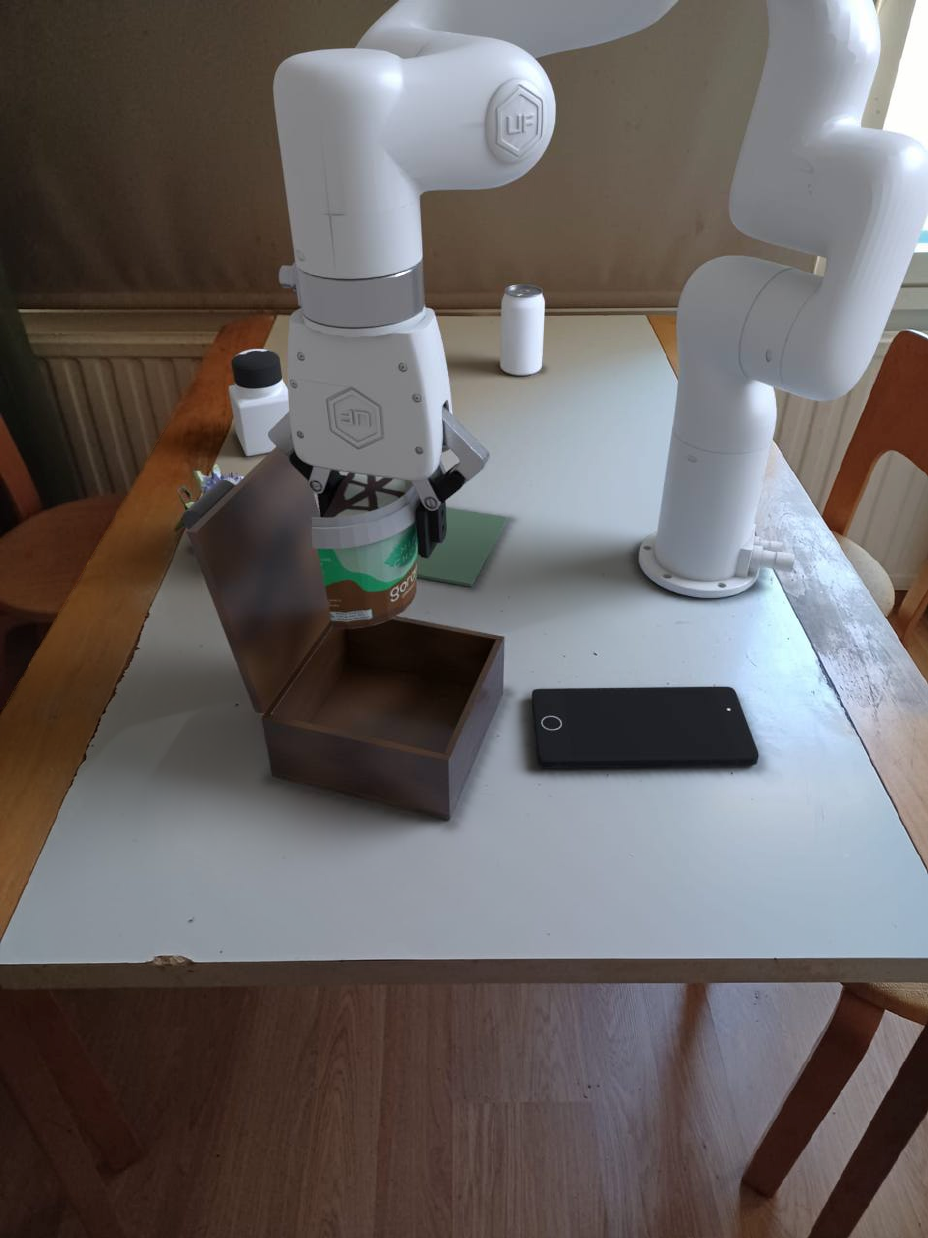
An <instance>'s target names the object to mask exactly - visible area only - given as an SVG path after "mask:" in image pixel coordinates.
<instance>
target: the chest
mask: <svg viewBox="0 0 928 1238" xmlns="http://www.w3.org/2000/svg"><path fill="white" fill-rule="evenodd" d="M505 641H506V637H505V636H503V635H498V634H494V633H493V634H492V633H488V632H482V631H477V630H472V629H466V628H462V627H456V626H451V625H446V624H441V623H436V622H432V621H427V620H426V621H425V620H419V619H414V618H409V617H404V616H399V615H397V616H395V617H394V618H392V619H390V620H389V621H386V622H382V623H379V624H376V625H373V626H370V627H362V628H354V629H338V628H333V626H332V621H331V620H330V622H329V623H328V624H327V626H326V627H325V629H324V630H323V631H322V633H321V634H320V636H319V637H318V639H317V640H316V641H315V643H314V644H313V646H312V647H311V648H310V650H309V651H308V653H307V654H306V655H305V657H304V658H303V660H302V661H301V662H300V664H299V665H298V667H297V668H296V669H295V671H294V672H293V674H292V675H291V676H290V678H289V679H288V681H287V682H286V684H285V685H284V686H283V688H282V689H281V691H280V692H279V693H278V695H277V696H276V698H275V699H274V700H273V702H272V703H271V705H270V706H269V707H268V709H267V710H266V712H265V713H264V714H262V715H261V717H260V721H261V727H262V731H263V738H264V742H265V746H266V752H267V757H268V760H269V761H268V763H269V768H270V772H271V776H272V777H273V778H275V779H279V780H284V781H288V782H292V783H295V784H300V785H305V786H309V787H311V788H312V787H313V788H316V789H320V790H324V791H328V792H332V793H337V794H341V795H344V796H349V797H353V798H357V799H359V800H360V799H361V800H365V801H369V802H373V803H377V804H381V805H385V806H388V807H389V806H390V807H392V808H393V807H394V808H397V809H401V810H405V811H410V812H414V813H417V814H422V815H426V816H430V817H433V818H437V819H442V820H445V821H451V819H452V817H453V814H454V812H455V809H456V807H457V805H458V802H459V800H460V797H461V795H462V793H463V790H464V788H465V785H466V783H467V781H468V778H469V776H470V774H471V771H472V769H473V767H474V764H475V762H476V760H477V757H478V755H479V752H480V750H481V747H482V745H483V742H484V741H485V738H486V735H487V733H488V731H489V728H490V726H491V723H492V721H493V719H494V716H495V714H496V712H497V710H498V707H499V705H500V702H501V700H502V699H503V698H502V697H503V695H504V679H505V678H504V677H505V676H504V675H505V674H504V673H505Z"/></svg>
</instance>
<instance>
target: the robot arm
mask: <svg viewBox="0 0 928 1238" xmlns="http://www.w3.org/2000/svg"><path fill="white" fill-rule="evenodd" d="M679 1H680V0H398V1H396V3H394V4H393V5H392V6H391V7H390V8H389V9H387V11H385V12H384V13H383V14H382V15H381V16H380V17H379V18H378V19H376V21H374V23H373V24H372V25H371V26H370V27H369V28H368V29H367V30H366V32H365V33H364V34H363V35H362V37H361V38H360V40H359V41H358V43H357V44H356V45H355V47H354V48H353V47H351V48H350V47H349V48H329V49H317V50H312V51H307V52H300V53H297V54H293V55H292V56H289V57H288V58H286V59H284V60H283V61H282V62H281V63H280V64H279V65H278V67H277V69H276V71H275V73H274V78H273V85H272V92H273V93H272V94H273V102H274V103H273V105H274V114H275V121H276V128H277V135H278V142H279V143H278V144H279V151H280V158H281V166H282V172H283V180H284V188H285V195H286V203H287V204H286V205H287V211H288V218H289V224H290V225H289V226H290V233H291V240H292V247H293V254H294V255H293V256H294V262H293V263H292V265H281V266H280V268H279V272H278V282H279V285H280V287H281V288H283V289H291V290H292V291H293V292H296V295H297V296H296V297H297V304H298V307H300V308H298V309H296V310H295V311H293V312H292V313H291V314H290V315H289V322H288V323H289V325H288V333H287V334H288V337H287V362H286V363H287V365H286V368H287V369H286V371H287V372H286V376H287V378H286V379H287V388H288V399H289V412H288V413H287V414H286V415H285V416H284V417H283V418H282V419H281V420H280V421H279V422H278V423H277V424H276V425H275V426H274V427H273V428H272V429H271V430H270V431H269V432H268V437H269V439H270V440H271V441H272V442H273V443H274V444H275V445H276V446H277V447H278V448H279V449H280V450H281V451H282V452H283V453H284V454H285V455H287V456H288V457H289V461H290V463H291V464H292V465H293V466H294V467H295V468H296V469H297V470H298V471H299V472H300V473H301V474H302V475H303V476H304V477H305V478H306V479H307V480H308V481H309V482H308V486H309V488H310V490H311V491H312V492H314V494H316V496H317V503H318V504H317V505H318V510H319V513H320V518H323V516H324V515H325V513H326V511H327V510H328V508H329V506H330V504H331V502H332V500H333V498H334V496H335V494H336V492H337V489H338V487H339V485H340V483H341V481H342V480H343V479H344V478H345V476H346V475H347V474H346V475H345V474H341V472H343V473H356V474H363V475H370V476H377V477H385V478H392V479H400V480H411V482H412V484H413V486H414V488H415V490H416V492H417V494H418V496H419V498H420V500H421V503H420V505H419V506H418V508H417V510H416V528H417V544H418V555H420V556H421V557H422V558H429V557H430V555H431V554H432V552H433V550H434V549H435V547H436V545H437V544H438V543H442V542H443V540H444V539H445V536H446V532H447V521H446V508H447V502H446V501H447V500H448V499H450V498H451V497H452V496H454V495H455V494H456V493H458V491H460V490H461V489H462V488H463V486H464V485H465V484H467V483H468V482H469V481H471V480H472V479H473V478H474V477H476V476H477V475H478V474H479V473H480V472H481V471H482V470H483V469H484V468H485V467H486V465H487V463H488V462H489V460H490V457H491V455H490V452H489V451H488V450H487V448H486V447H484V445H482V443H481V442H480V441H479V440H478V439H477V438H476V437H474V435H473V434H472V433H471V432H470V431H468V429H467V428H466V427H464V425H463V423H461V422H460V421H459V420H458V419H457V417H455V416H454V415H453V405H452V394H451V385H450V379H449V372H448V365H447V360H446V354H445V349H444V344H443V340H442V335H441V331H440V328H439V327H440V326H439V324H438V319H437V317H436V312H435V310H434V309H432V308H430V307H426V301H425V299H426V298H425V281H424V258H423V256H424V255H423V233H422V215H421V214H422V213H421V196H422V194H424V193H426V192H432V191H464V190H465V191H467V190H469V191H470V190H472V191H473V190H474V191H475V190H479V191H480V190H488V189H495V188H499V187H502V186H506V185H508V184H510V183H513V182H514V181H516V180H519V179H520V178H521V177H523V176H524V175H526V174H527V173H528V172H529V171H530V170H531V169H532V168H534V167H535V165H536V164H537V163H538V162H539V161H540V160H541V158H542V157H543V155H544V153H545V152H546V150H547V148H548V146H549V145H550V142H551V139H552V136H553V134H554V129H555V126H556V113H557V112H556V110H557V109H556V108H557V107H556V106H557V105H556V99H555V92H554V89H553V85H552V83H551V81H550V78H549V76H548V74H547V73H546V71H545V69H544V68H543V67H542V65H541V64H540V63H539V61H538V60H537V59H539V58H542V57H544V56H549V55H554V54H557V53H562V52H568V51H573V50H577V49H584V48H589V47H593V46H597V45H602V44H604V43H609V42H611V41H615V40H618V39H621V38H624V37H626V36H630V35H633V34H636V33H638V32H640V31H642V30H643V31H644V30H645V29H647V28H649V27H650V26H652V25H654V24H655V23H657V22H658V21H660V19H662V18H663V17H664V16H665V15H666V14H667V13H668V12H669V11H670V10H671V8H673V7H675V5H676V4H677V3H678V2H679ZM765 4H766V11H767V17H768V18H767V19H768V42H767V52H766V56H765V61H764V65H763V69H762V73H761V77H760V80H759V85H758V87H757V92H756V95H755V99H754V102H753V105H752V109H751V112H750V116H749V119H748V123H747V126H746V130H745V132H744V137H743V139H742V143H741V147H740V151H739V154H738V158H737V161H736V165H735V169H734V173H733V177H732V179H731V180H732V181H731V185H730V190H729V197H728V198H729V199H728V203H727V204H728V206H727V207H728V215H729V218H730V221H731V223H732V225H733V226H734V227H735V228H736V230H737V231H739V232H740V233H742V234H743V235H745V236H747V237H750V238H752V239H755V240H758V241H761V242H764V243H767V244H770V245H774V246H778V247H782V248H785V249H789V250H793V251H796V252H800V253H804V254H808V255H812V256H815V257H820V258H823V259H826V260H825V262H826V263H825V268H824V273H823V275H819V274H815V273H812V272H807V271H804V270H801V269H800V268H796V267H792V266H788V265H785V264H783V263H782V264H781V263H777V262H774V261H771V260H765V259H762V258H758V257H753V256H747V255H737V254H736V255H734V254H733V255H729V254H728V255H723V256H718V257H715V258H713V259H711V260H708V261H706V262H704V263H703V264H701V265H700V266H698V268H697V269H696V270H695V271H694V272H693V273H692V274H691V275H690V277H689V278H688V280H687V281H686V283H685V285H684V287H683V289H682V291H681V294H680V296H679V300H678V306H677V309H676V320H675V321H676V322H675V323H676V324H675V325H676V328H675V329H676V331H675V332H676V343H677V344H676V345H677V367H678V368H677V370H678V371H677V372H678V373H677V385H676V386H677V388H676V397H675V406H674V413H673V419H672V427H671V433H670V440H669V446H668V453H667V461H666V468H665V474H664V480H663V488H662V493H661V502H660V508H659V515H658V516H659V517H658V523H657V528H656V529H657V530H656V531H655V532H653V533H652V534H649V535H648V536H647V537H646V538H645V539H644V540H643V541H642V543H641V544H640V547H639V552H638V563H639V567H640V569H641V570H642V572H643V573H644V574H645V575H646V577H648V578H649V579H650V580H651V581H652V582H654V583H655V584H656V585H658V586H660V587H662V588H664V589H665V590H668V591H671V592H674V593H676V594H679V595H683V596H687V597H693V598H701V599H719V598H726V597H727V598H728V597H731V596H734V595H737V594H740V593H742V592H745V591H746V590H748V589H749V588H751V587H752V586H753V585H754V584H755V582H757V579H758V577H759V574H760V570H761V568H766V569H771V570H774V571H779V572H786V573H792V572H793V567H794V562H795V557H796V556H795V553H792V552H784V551H782V550H783V544H784V542H783V541H778V540H766V539H761V536H758V535H755V534H756V527H757V524H756V522H755V521H756V516H757V511H758V508H759V507H758V506H759V503H760V499H761V498H760V497H761V493H762V488H763V485H764V479H765V475H766V471H767V467H768V461H769V457H770V453H771V448H772V445H773V444H772V443H773V440H774V435H775V431H776V425H777V418H778V417H777V413H778V409H777V400H776V399H777V398H776V393H775V389H778V390H780V391H783V392H786V393H789V394H792V395H795V396H797V397H800V398H803V399H806V400H811V401H816V402H831V401H834V400H837V399H839V398H842V397H843V396H845V395H846V394H848V393H849V392H851V390H852V389H853V388H854V387H855V386H857V384H858V382H859V381H860V380H861V379H862V377H863V375H864V374H865V372H866V371H867V369H868V367H869V365H870V363H871V361H872V359H873V357H874V354H875V352H876V350H877V348H878V345H879V342H880V341H881V338H882V335H883V334H884V331H885V328H886V326H887V322H888V320H889V317H890V315H891V312H892V310H893V308H894V306H895V302H896V299H897V296H898V294H899V291H900V289H901V287H902V284H903V281H904V279H905V276H906V274H907V271H908V268H909V266H910V263H911V261H912V257H913V255H914V253H915V251H916V248H917V246H918V242H919V240H920V238H921V235H922V232H923V229H924V226H925V223H926V220H927V217H928V149H927V148H926V147H925V146H924V145H923V144H922V143H921V142H920V141H919V140H917V139H916V138H914V137H912V136H909V135H906V134H904V133H901V132H896V131H892V130H891V131H890V130H886V129H885V130H884V129H880V128H879V129H877V128H872V127H871V128H870V127H863V126H862V121H863V116H864V114H865V113H864V112H865V110H866V106H867V102H868V99H869V96H870V92H871V89H872V85H873V83H874V79H875V77H876V74H877V70H878V66H879V62H880V58H881V51H882V46H881V45H882V44H881V42H882V40H881V29H880V23H879V18H878V14H877V11H876V5H875V4H874V1H873V0H765ZM774 388H775V389H774ZM449 450H450V451H451V452H452V453H453V454H454V455H455V456H456V457H457V458H458V460H459V462H458V463H456V464H454V465H453V466H452V467H450V468H449V469H448V470H446V468H445V467H444V464H443V462H442V460H441V458H442V453H445V452H447V451H449Z"/></svg>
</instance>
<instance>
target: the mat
mask: <svg viewBox="0 0 928 1238" xmlns="http://www.w3.org/2000/svg"><path fill="white" fill-rule="evenodd" d="M446 521H447V532H446V536H445V539H444V540H443V542H442V543H438V544H437V545H436V547H435V549H434V550H433V552H432V554H431V555H430V557H429V558H422V557H421V556H420V555H418V544H417V577H416V578H420V579H425V580H432V581H437V582H442V583H448V584H453V585H459V586H463V587H470V588H472V587H473V586H474V583H475V581H476V579H477V578H478V576H479V574H480V572H481V571H482V569H483V566H484V565H485V562H486V561H487V559H488V557H489V556H490V553H491V552H492V550H493V548H494V546H495V544H496V542H497V541H498V538H499V536H500V535H501V533H502V531H503V529H504V527H505V526H506V524H507V521H508V517H507V516H502V515H496V514H489V513H484V512H483V513H482V512H477V511H472V510H471V511H470V510H465V509H464V510H463V509H459V508H451V507H446Z"/></svg>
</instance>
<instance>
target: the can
mask: <svg viewBox="0 0 928 1238" xmlns="http://www.w3.org/2000/svg"><path fill="white" fill-rule="evenodd" d="M545 301H546V300H545V297H544V295H543V288H541V287H540V286H537V285H534V284H524V283H522V284H513V285H509V286H506V287H505V288H504V293H503V296H502V298H501V305H500V344H499V345H500V346H499V350H500V353H499V356H500V357H499V367H500V369H501V370H502V371H503V372H504V373H506V374H507V375H511V376H516V377H528V376H533V375H535V374H537V373H539V372H540V371H541V369H542V367H543V354H544V353H543V352H544V334H545V333H544V330H545V312H546V311H545V309H546V302H545Z"/></svg>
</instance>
